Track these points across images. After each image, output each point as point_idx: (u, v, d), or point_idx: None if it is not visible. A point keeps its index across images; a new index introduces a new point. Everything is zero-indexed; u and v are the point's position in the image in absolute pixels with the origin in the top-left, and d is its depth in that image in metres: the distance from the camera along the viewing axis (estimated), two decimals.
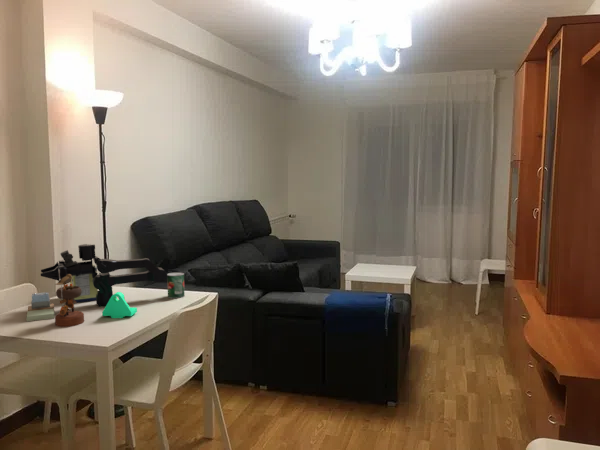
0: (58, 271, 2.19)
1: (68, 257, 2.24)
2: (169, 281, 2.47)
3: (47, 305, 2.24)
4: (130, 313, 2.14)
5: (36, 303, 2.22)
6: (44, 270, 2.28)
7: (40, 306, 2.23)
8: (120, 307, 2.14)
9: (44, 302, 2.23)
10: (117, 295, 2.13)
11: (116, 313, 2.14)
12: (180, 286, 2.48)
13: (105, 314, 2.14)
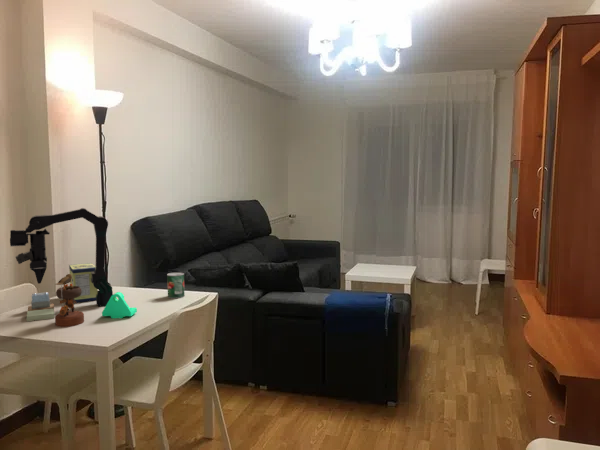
0: (35, 268, 2.16)
1: (21, 257, 2.16)
2: (169, 281, 2.47)
3: (47, 305, 2.24)
4: (130, 313, 2.14)
5: (36, 303, 2.22)
6: None
7: (40, 306, 2.23)
8: (120, 307, 2.14)
9: (44, 302, 2.23)
10: (117, 295, 2.13)
11: (115, 313, 2.14)
12: (180, 286, 2.48)
13: (105, 314, 2.14)
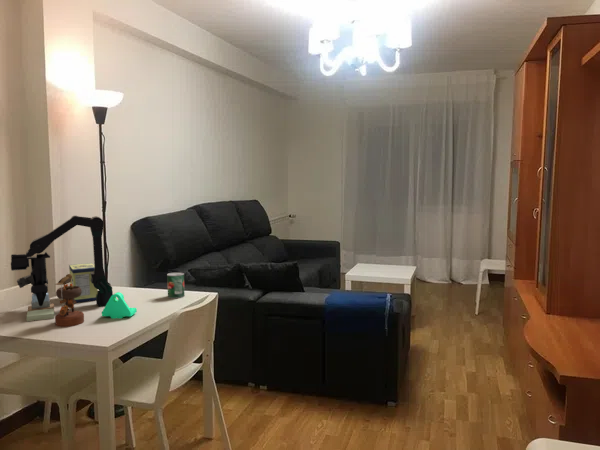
0: (36, 291, 2.18)
1: (22, 281, 2.17)
2: (169, 281, 2.47)
3: (47, 305, 2.24)
4: (129, 313, 2.13)
5: (36, 303, 2.22)
6: None
7: (40, 306, 2.23)
8: (120, 307, 2.13)
9: (44, 302, 2.23)
10: (116, 295, 2.13)
11: (115, 313, 2.14)
12: (180, 286, 2.48)
13: (105, 314, 2.14)
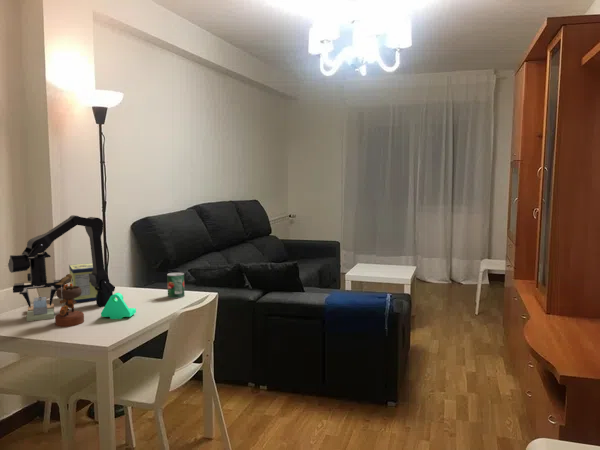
0: None
1: (27, 277, 2.18)
2: (169, 281, 2.47)
3: (33, 312, 2.13)
4: (129, 314, 2.13)
5: None
6: None
7: None
8: (119, 307, 2.13)
9: None
10: (116, 296, 2.12)
11: (114, 314, 2.13)
12: (180, 286, 2.48)
13: (104, 315, 2.13)
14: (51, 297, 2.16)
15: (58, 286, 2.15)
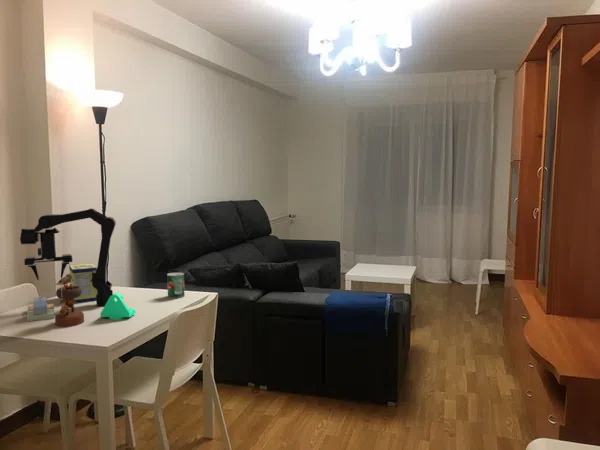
0: None
1: None
2: (169, 281, 2.47)
3: (33, 312, 2.13)
4: (128, 314, 2.12)
5: None
6: None
7: None
8: (118, 308, 2.12)
9: None
10: (115, 296, 2.12)
11: (114, 314, 2.12)
12: (180, 286, 2.48)
13: (104, 315, 2.13)
14: (62, 270, 2.29)
15: (67, 260, 2.29)
